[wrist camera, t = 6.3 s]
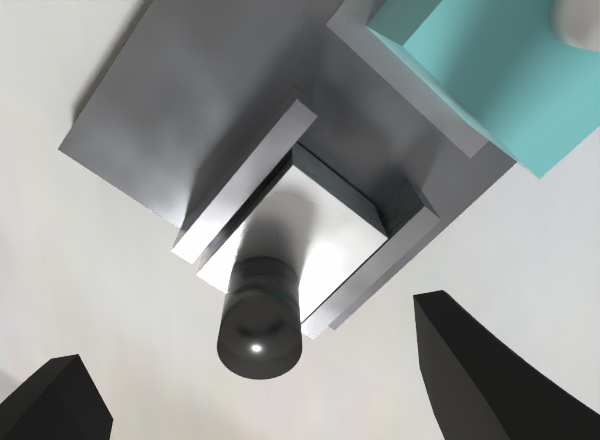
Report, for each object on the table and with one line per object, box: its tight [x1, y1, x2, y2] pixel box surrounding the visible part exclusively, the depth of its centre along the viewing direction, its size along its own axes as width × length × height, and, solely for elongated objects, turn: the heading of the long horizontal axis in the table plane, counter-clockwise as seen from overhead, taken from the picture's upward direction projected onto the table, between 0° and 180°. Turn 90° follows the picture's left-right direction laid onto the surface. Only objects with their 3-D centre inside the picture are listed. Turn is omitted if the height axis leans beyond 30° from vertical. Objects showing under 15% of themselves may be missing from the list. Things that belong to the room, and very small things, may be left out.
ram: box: [197, 142, 388, 380], centre depth 15 cm, size 4×5×6 cm
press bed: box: [58, 0, 517, 340], centre depth 15 cm, size 13×17×4 cm
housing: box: [366, 0, 600, 179], centre depth 12 cm, size 5×6×6 cm
